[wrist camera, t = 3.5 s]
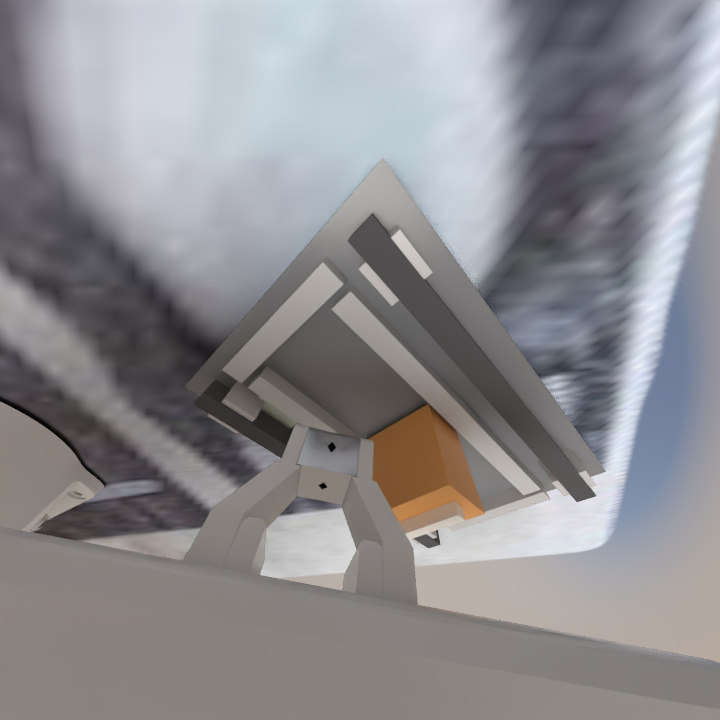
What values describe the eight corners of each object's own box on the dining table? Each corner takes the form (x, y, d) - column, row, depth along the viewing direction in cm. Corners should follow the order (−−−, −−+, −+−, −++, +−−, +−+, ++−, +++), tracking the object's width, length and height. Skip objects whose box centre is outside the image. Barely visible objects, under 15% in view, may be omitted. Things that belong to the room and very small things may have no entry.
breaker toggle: (394, 462, 18) (401, 555, 13) (365, 440, 17) (362, 533, 12) (456, 430, 16) (490, 528, 11) (428, 403, 15) (452, 499, 10)
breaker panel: (416, 513, 26) (421, 554, 23) (202, 368, 17) (166, 404, 14) (586, 447, 20) (624, 493, 17) (382, 163, 11) (384, 151, 8)
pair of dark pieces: (426, 532, 23) (428, 548, 22) (205, 390, 15) (193, 403, 14) (584, 479, 18) (596, 496, 17) (372, 212, 10) (372, 214, 9)
